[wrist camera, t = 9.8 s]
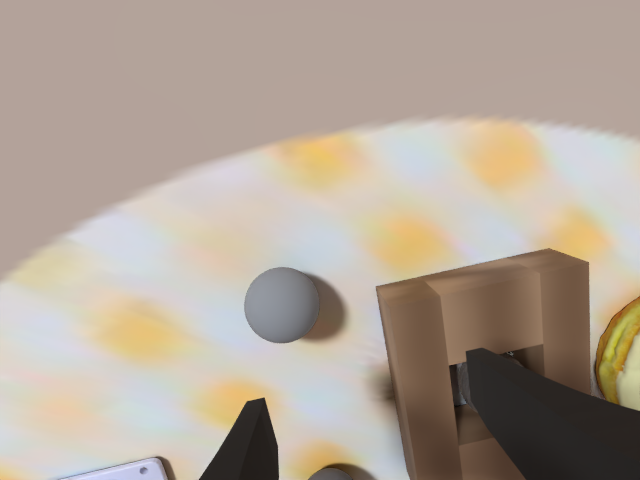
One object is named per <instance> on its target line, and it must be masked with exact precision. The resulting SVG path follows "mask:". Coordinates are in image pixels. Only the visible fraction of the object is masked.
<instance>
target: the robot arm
mask: <svg viewBox="0 0 640 480" xmlns="http://www.w3.org/2000/svg"><path fill="white" fill-rule="evenodd" d="M465 352H466V361H467V370H468V379H469V388H470V398H471V402H472V403H473V405H474V407H475V409H476V410H477V412H478V414H479V416H480V417H481V419H482V421H483V422H484V424H485V426H486V427H487V429H488V430H489V431H490V433H491V434H492V435H493V437H494V438H495V439H496V441H497V442H498V443H499V445H500V446H501V447H502V449H503V450H504V451H505V453H506V454H507V455H508V457H509V458H510V459H511V461H512V462H513V463H514V464H515V466H516V467H517V468H518V470H519V471H520V472H521V474H522V475H523V476H524V478H525V479H526V480H640V411H639V410H635V409H631V408H628V407H624V406H621V405H618V404H615V403H612V402H609V401H606V400H603V399H600V398H597V397H594V396H591V395H588V394H585V393H583V392H580V391H578V390H575V389H572V388H570V387H568V386H565V385H563V384H560V383H558V382H555V381H553V380H551V379H549V378H546V377H544V376H542V375H540V374H537V373H535V372H533V371H531V370H529V369H527V368H524V367H522V366H520V365H518V364H516V363H514V362H512V361H510V360H508V359H506V358H504V357H502V356H500V355H498V354H496V353H494V352H491V351H489V350H487V349H485V348H477V349H473V350H469V351H465ZM143 467H145V468H147V469H144V468H143ZM60 480H168V478H167V476H166V473H165V470H164V468H163V465H162V462H161V461H160V460H159V459H157V458H150V459H145V460H141V461H137V462H133V463H128V464H124V465H120V466H115V467H111V468H107V469H103V470H98V471H94V472H90V473H86V474H81V475H77V476H73V477H69V478H64V479H60ZM199 480H279V465H278V445H277V441H276V438H275V434H274V430H273V427H272V423H271V419H270V416H269V412H268V409H267V405H266V401H265V398H260V399H256V400H252V401H247V403H246V404H245V405H244V407H243V409H242V411H241V413H240V414H239V416H238V418H237V420H236V422H235V423H234V425H233V427H232V429H231V430H230V432H229V434H228V435H227V437H226V439H225V440H224V442H223V444H222V445H221V447H220V449H219V450H218V452H217V454H216V455H215V457H214V458H213V460H212V461H211V463H210V464H209V466H208V467H207V469H206V470H205V471H204V473H203V474H202V476H201V477H200V479H199Z"/></svg>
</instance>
